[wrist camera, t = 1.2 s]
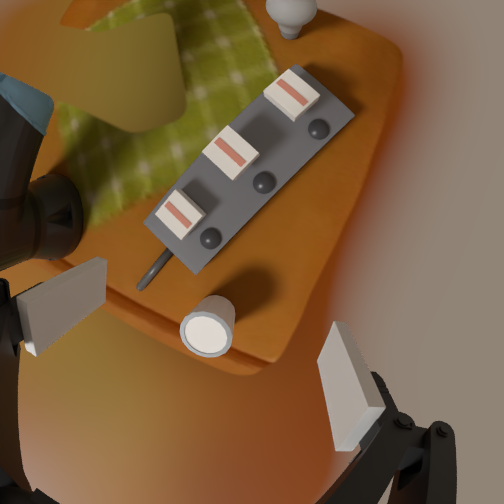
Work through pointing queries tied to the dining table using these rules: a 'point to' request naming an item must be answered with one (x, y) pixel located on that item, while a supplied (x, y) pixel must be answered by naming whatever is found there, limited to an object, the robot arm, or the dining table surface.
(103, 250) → the dining table surface
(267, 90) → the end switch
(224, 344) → the white cup
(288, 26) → the lightbulb
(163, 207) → the cord end switch
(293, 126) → the power strip
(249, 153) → the middle switch
